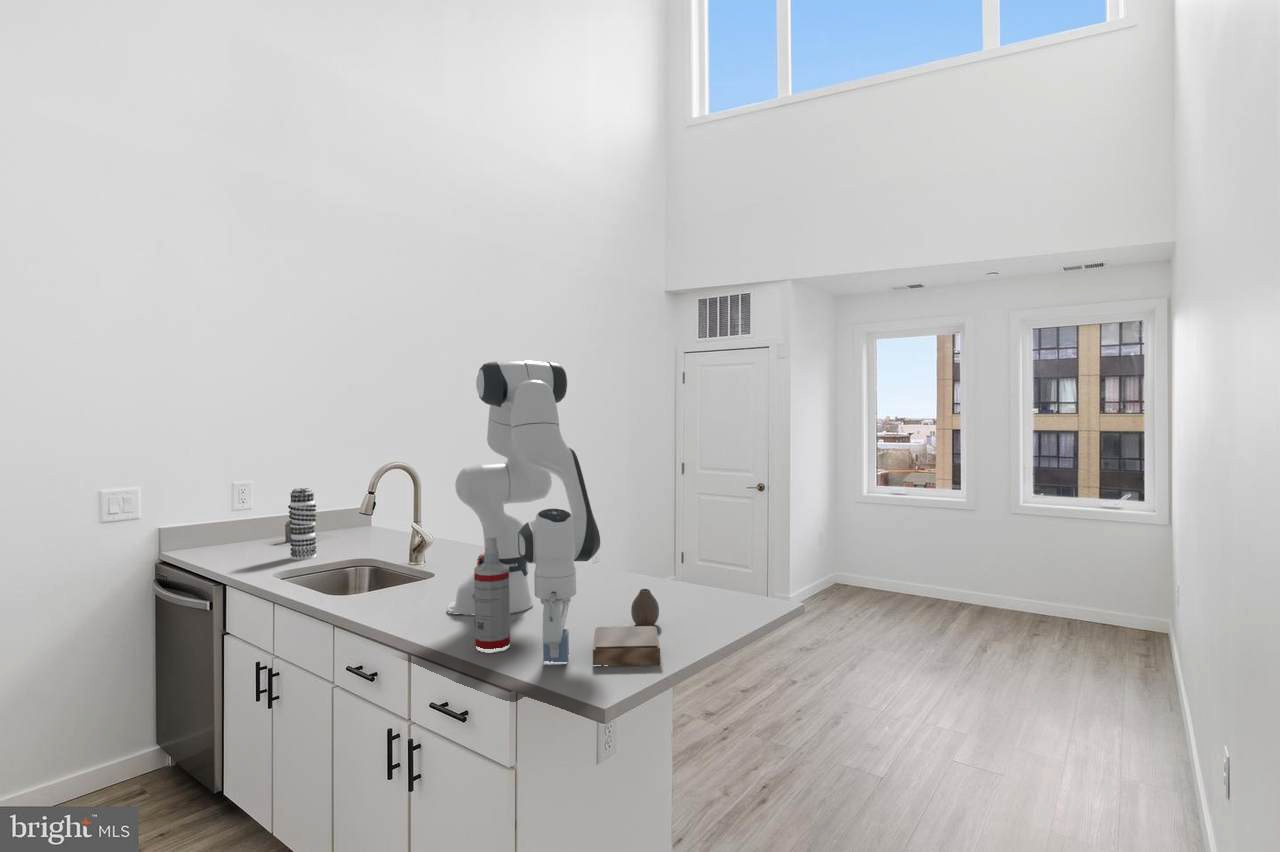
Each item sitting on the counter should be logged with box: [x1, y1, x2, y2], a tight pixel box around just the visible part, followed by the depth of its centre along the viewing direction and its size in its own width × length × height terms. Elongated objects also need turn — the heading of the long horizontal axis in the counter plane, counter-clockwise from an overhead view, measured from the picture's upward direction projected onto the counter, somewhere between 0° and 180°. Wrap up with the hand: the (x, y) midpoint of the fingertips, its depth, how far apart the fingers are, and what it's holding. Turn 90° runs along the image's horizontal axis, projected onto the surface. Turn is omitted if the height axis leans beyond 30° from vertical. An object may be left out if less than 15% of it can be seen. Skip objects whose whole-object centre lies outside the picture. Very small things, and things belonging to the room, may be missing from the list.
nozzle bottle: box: [473, 537, 511, 649], centre depth 158 cm, size 8×8×25 cm
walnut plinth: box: [592, 625, 661, 667], centre depth 153 cm, size 14×14×4 cm
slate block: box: [542, 628, 570, 662], centre depth 150 cm, size 5×5×6 cm
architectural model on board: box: [284, 519, 316, 544], centre depth 289 cm, size 11×3×10 cm, turn 150°
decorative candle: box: [287, 487, 317, 561], centre depth 255 cm, size 9×9×25 cm
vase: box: [630, 588, 660, 626], centre depth 174 cm, size 7×7×9 cm
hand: (556, 650), depth 150 cm, fingers open, 5 cm apart
